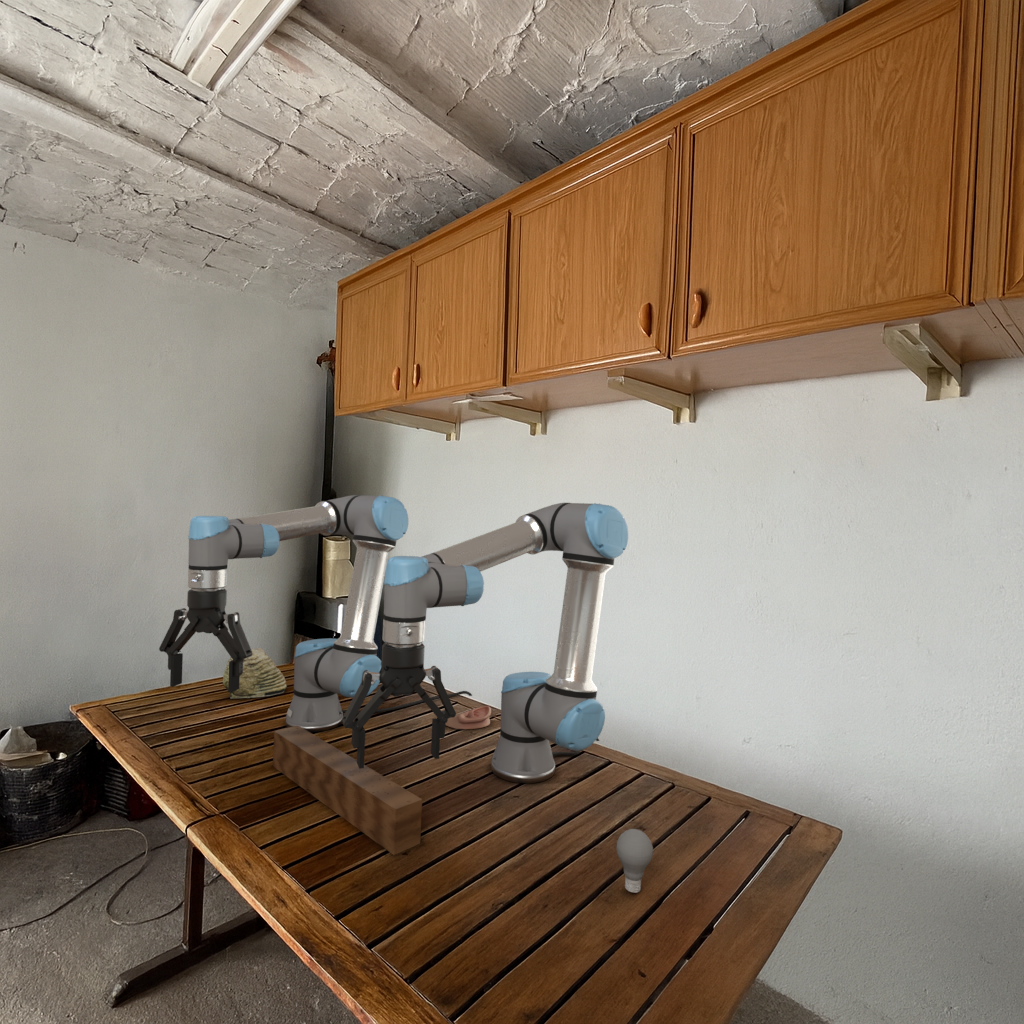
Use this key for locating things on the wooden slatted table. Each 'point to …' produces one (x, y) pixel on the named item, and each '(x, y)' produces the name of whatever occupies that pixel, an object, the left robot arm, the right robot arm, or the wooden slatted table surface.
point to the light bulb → (634, 857)
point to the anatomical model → (471, 719)
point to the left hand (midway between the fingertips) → (204, 687)
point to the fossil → (257, 677)
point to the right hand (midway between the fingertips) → (398, 760)
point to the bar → (350, 789)
